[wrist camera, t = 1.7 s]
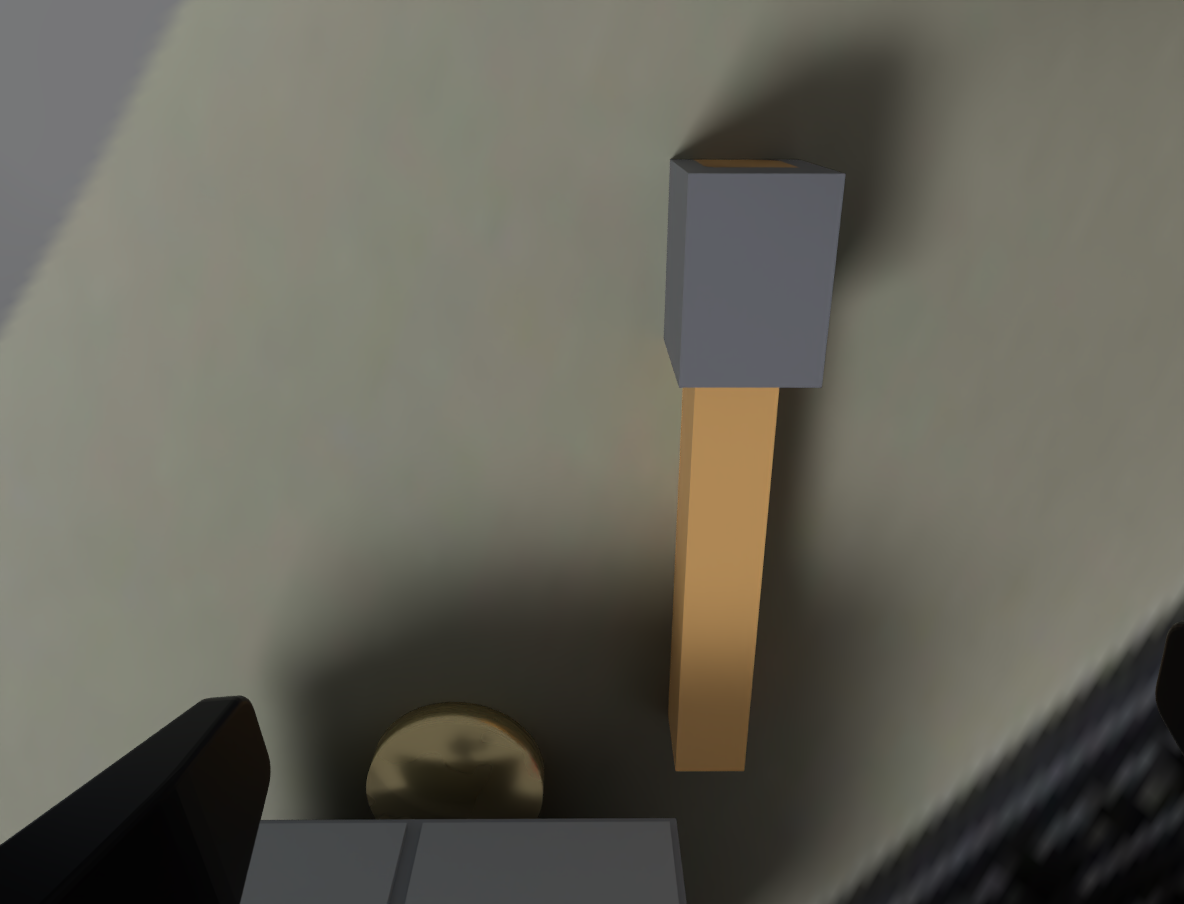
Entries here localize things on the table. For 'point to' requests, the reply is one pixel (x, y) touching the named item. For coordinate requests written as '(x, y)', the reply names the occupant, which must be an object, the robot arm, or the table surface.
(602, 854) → the cabinet
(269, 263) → the table surface
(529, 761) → the disc
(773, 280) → the gray mallet
